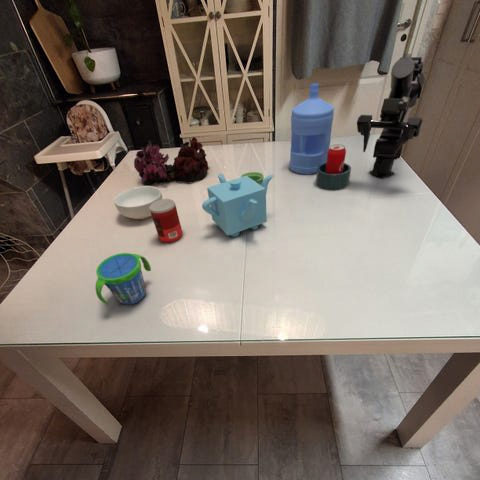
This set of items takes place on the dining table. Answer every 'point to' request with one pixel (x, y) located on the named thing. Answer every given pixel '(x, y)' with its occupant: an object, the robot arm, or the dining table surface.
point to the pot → (332, 178)
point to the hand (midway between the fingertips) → (378, 152)
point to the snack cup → (122, 277)
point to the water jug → (310, 133)
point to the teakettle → (237, 204)
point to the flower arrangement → (183, 170)
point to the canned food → (166, 220)
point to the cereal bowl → (137, 201)
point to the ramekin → (255, 176)
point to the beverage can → (335, 159)
